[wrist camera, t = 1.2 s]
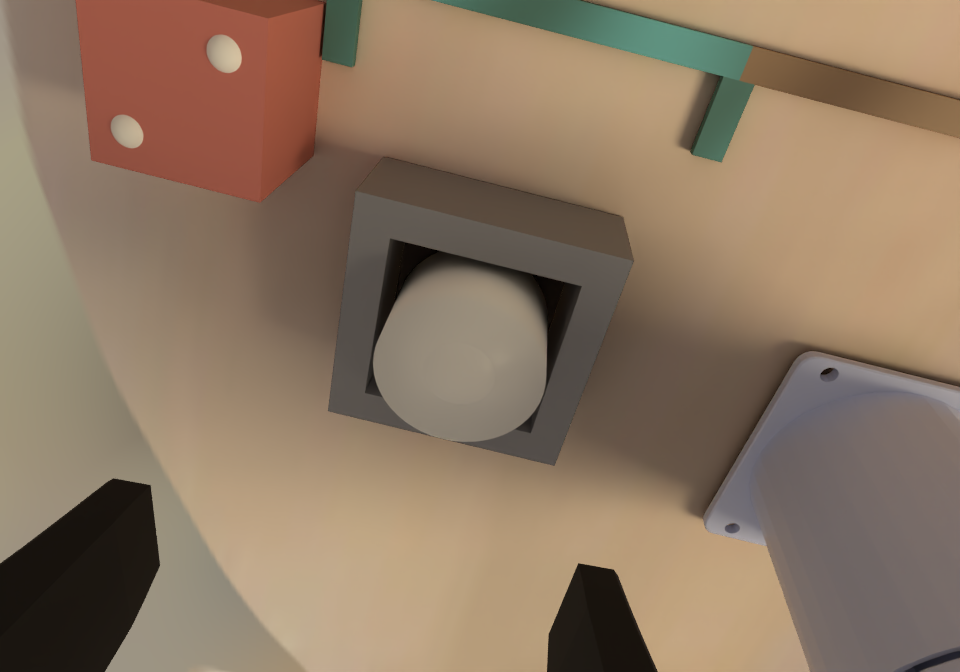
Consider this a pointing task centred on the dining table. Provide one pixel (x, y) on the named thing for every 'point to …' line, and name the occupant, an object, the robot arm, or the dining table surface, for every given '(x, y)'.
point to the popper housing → (489, 238)
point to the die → (203, 88)
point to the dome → (464, 349)
